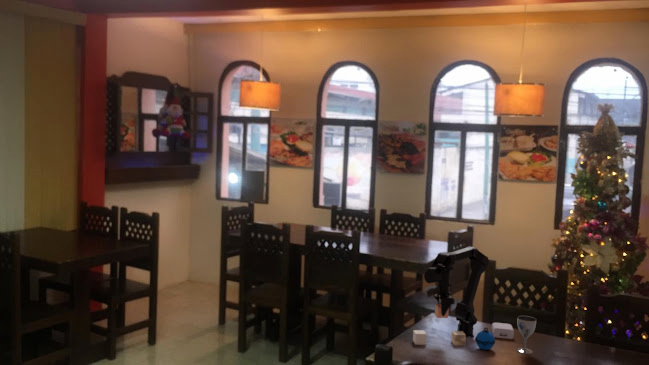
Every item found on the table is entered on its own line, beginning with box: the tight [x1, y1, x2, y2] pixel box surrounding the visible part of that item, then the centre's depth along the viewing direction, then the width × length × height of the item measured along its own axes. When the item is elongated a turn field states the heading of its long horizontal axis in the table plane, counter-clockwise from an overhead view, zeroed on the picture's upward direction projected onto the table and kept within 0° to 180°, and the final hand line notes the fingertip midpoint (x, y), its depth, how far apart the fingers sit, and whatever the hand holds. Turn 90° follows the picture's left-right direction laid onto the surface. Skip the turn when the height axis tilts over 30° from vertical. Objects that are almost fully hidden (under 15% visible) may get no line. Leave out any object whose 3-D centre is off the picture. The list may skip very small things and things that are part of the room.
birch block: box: [450, 330, 466, 346], centre depth 278 cm, size 5×5×5 cm
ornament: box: [474, 327, 496, 351], centre depth 272 cm, size 9×9×10 cm
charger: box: [491, 322, 515, 340], centre depth 296 cm, size 5×9×15 cm
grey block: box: [412, 329, 428, 346], centre depth 277 cm, size 5×5×5 cm
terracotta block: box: [434, 303, 450, 319], centre depth 279 cm, size 5×5×5 cm
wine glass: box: [515, 315, 537, 355], centre depth 272 cm, size 8×8×15 cm
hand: (441, 313), depth 279 cm, fingers closed on terracotta block, 5 cm apart
